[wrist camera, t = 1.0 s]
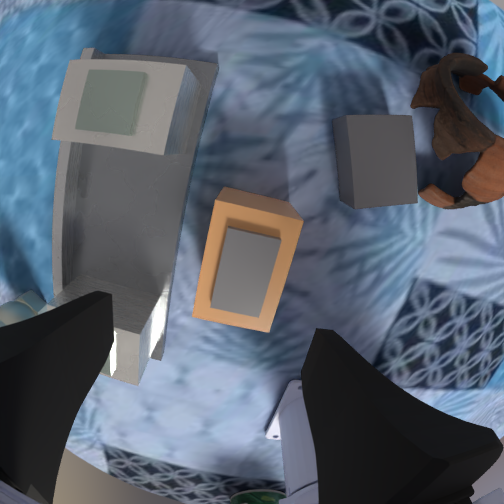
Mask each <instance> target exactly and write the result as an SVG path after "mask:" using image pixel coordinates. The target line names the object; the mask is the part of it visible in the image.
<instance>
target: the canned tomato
mask: <svg viewBox="0 0 504 504" xmlns="http://www.w3.org/2000/svg"><path fill="white" fill-rule="evenodd" d="M284 498H287V496H286V494H285V493H283V492H281V491H277V490H270V489H254V490H246V491H242V492H238V493H236V494H234V495H233V496H231V498H230V502H231V504H279V500H280V499H284Z"/></svg>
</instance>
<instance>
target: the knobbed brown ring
mask: <svg viewBox="0 0 504 504" xmlns="http://www.w3.org/2000/svg"><path fill="white" fill-rule="evenodd" d="M487 69H488V66H487V65H486V64H485V63H483V62H482V61H481V60H480V59H478V58H476V57H474V56H471V55H468V54H463V53H451V54H448V55H447V56H444V57H443V58H442V59H441V60H440V62H439V64H437V65H433V66H431V67H428V68H427V69H426V71H424V72H423V73H422V75H421V78H420V84H419V87H418V90H417V92H416V94H415V95H414V97H413V100H412V102H411V105H410V107H411V108H412V109H415V108H418V107H431V108H439V109H440V110H439V112H438V113H437V115H436V116H435V120H434V137H433V140H432V147H433V149H434V151H435V153H436V155H437V157H438V158H439V159H440V160H444V159H446V158H447V157H448V156H450V155H451V154H452V153H455V154H461V153H465V152H480V154H479V157H478V159H477V161H476V163H475V164H474V165H473V167H472V168H471V169H470V170H468V171H467V172H466V173H465V175H464V177H463V181H462V187H463V189H464V190H465V191H466V192H464V193H463V195H461V196H460V197H452V196H451V195H449V194H447V193H445V192H444V191H442V190H441V189H439V188H438V187H436V186H435V185H434V184H429V185H428V186H426V187H425V188H424V189H421V190H419V192H418V194H419V195H420V197H422V198H423V199H424V200H425V201H427V202H429V203H431V204H432V205H435V206H437V207H440V208H443V209H457V208H464V207H468V206H477V205H479V204H486V203H489V202H492V201H495V200H498V199H500V198H502V197H503V196H504V138H502V137H500V136H498V135H495V134H494V133H493V132H492V131H491V130H490V129H488V128H487V127H486V126H485V125H484V124H483V123H481V122H480V121H479V120H478V119H477V118H476V117H475V116H474V114H473V113H472V112H471V111H470V110H469V108H468V107H467V106H466V105H465V103H464V102H463V101H462V99H461V98H460V97H459V95H458V93H457V91H456V90H455V87H454V85H453V82H452V77H451V73H453V74H456V75H457V76H459V87H460V89H462V90H463V91H466V92H468V93H471V94H474V95H479V94H480V93H481V92H482V89H483V88H486V87H489V88H490V89H491V90H493V91H494V92H495V93H496V94H497V95H498V96H499V97H500V98H501V100H502V101H503V102H504V76H502V75H501V76H499V77H498V78H497V80H496V81H493V80H491V79H490V78H489V77H487V76H486V75H484V74H482V73H484V72H485V71H486V70H487Z"/></svg>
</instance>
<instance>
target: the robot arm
mask: <svg viewBox="0 0 504 504" xmlns="http://www.w3.org/2000/svg"><path fill="white" fill-rule="evenodd" d="M114 341H115V338H114V323H113V302H112V294H111V293H106V292H102V291H98V290H97V291H94V292H91V293H88V294H86V295H84V296H81V297H79V298H77V299H74V300H72V301H70V302H68V303H65V304H63V305H61V306H59V307H56V308H54V309H52V310H49V311H47V312H44V313H42V314H39V315H37V316H34V317H32V318H29V319H26V320H23V321H20V322H17V323H13V324H10V325H6V326H2V327H0V504H53V497H54V490H55V485H56V479H57V475H58V470H59V466H60V463H61V459H62V455H63V451H64V448H65V445H66V442H67V439H68V436H69V433H70V430H71V428H72V425H73V423H74V420H75V417H76V415H77V413H78V411H79V409H80V407H81V405H82V403H83V401H84V399H85V398H86V396H87V394H88V392H89V391H90V389H91V387H92V385H93V384H94V382H95V380H96V378H97V377H98V375H99V373H100V372H101V370H102V368H103V366H104V365H105V363H106V361H107V358H108V356H109V354H110V351H111V349H112V346H113V344H114ZM301 379H302V380H292V381H290V382H289V384H288V386H287V388H286V390H285V393H284V395H283V397H282V399H281V401H280V403H279V406H278V408H277V410H276V412H275V414H274V416H273V418H272V420H271V422H270V424H269V426H268V428H267V430H266V432H265V437H266V438H268V439H277V440H281V446H282V456H283V466H284V476H285V486H286V496H287V498H284V499H280V500H279V504H504V493H503V491H502V489H501V488H498V489H496V490H494V491H492V492H491V493H489V494H487V495H485V496H483V497H481V498H480V499H478V500H476V501H475V502H473V503H472V502H471V500H470V498H469V497H471V496H472V495H473V494H474V489H473V487H472V484H473V483H474V482H475V481H476V480H478V479H479V478H480V477H481V476H482V475H483V474H484V473H485V472H486V471H487V470H488V469H489V468H490V467H491V466H492V465H493V464H494V463H495V462H496V461H497V459H498V458H499V457H500V455H501V453H502V451H503V445H502V443H501V442H500V440H499V438H498V437H497V435H496V434H495V432H494V431H493V430H492V429H491V428H487V427H483V426H480V425H476V424H473V423H469V422H466V421H463V420H461V419H458V418H456V417H453V416H451V415H448V414H446V413H444V412H441V411H439V410H437V409H435V408H433V407H431V406H429V405H428V404H426V403H424V402H422V401H420V400H418V399H417V398H415V397H413V396H412V395H410V394H409V393H407V392H406V391H404V390H403V389H401V388H400V387H398V386H397V385H396V384H394V383H393V382H392V381H390V380H389V379H388V378H386V377H385V376H384V375H383V374H381V373H380V372H379V371H378V370H377V369H375V368H374V367H373V366H372V365H371V364H370V363H369V362H367V361H366V360H365V359H364V358H363V357H362V356H361V355H360V354H359V353H358V352H357V351H356V350H354V349H353V348H352V347H351V346H350V345H349V344H348V343H347V342H346V341H345V340H344V339H343V338H342V337H340V336H339V335H338V334H337V333H336V332H335V331H333V330H328V329H319V328H316V331H315V334H314V337H313V340H312V343H311V345H310V348H309V351H308V354H307V357H306V360H305V362H304V365H303V368H302V371H301ZM299 386H301V387H299Z"/></svg>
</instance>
